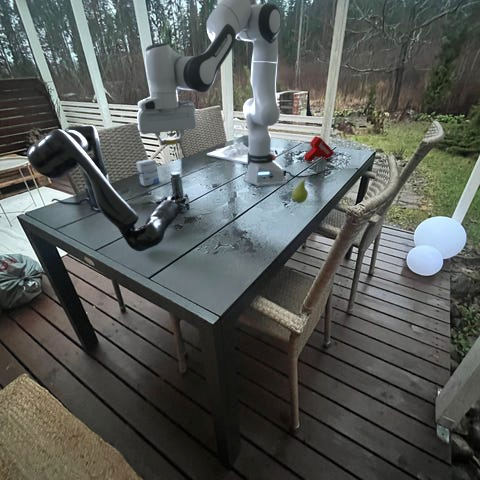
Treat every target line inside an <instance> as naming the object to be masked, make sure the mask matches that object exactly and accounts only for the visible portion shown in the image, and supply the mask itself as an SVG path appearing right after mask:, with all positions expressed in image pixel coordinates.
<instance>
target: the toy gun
mask: <svg viewBox="0 0 480 480" xmlns="http://www.w3.org/2000/svg"><path fill="white" fill-rule="evenodd" d="M309 145H310V147H311V148H310V149H309V151H308V152H306V153H305V154H304V155H303V158H304V159H303V160H304V161H305V162H307V161H312V162H313V161H314V160H315V159H316V158H319V159H320V158H323V157H325V158H323V159H324V160H326V161H330V160H329V159H326V158H328V157H331V158H332V157H333V156H334V154H335V152H334V151H333V150H332V148H330V146H329V145H328V144H327V143H326V141H324V139H322V137H320V136H316V135H315V136H314V137H313V139H311V141H310V143H309ZM312 162H308V163H309V164H312Z"/></svg>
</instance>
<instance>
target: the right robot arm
mask: <svg viewBox="0 0 480 480" xmlns="http://www.w3.org/2000/svg"><path fill="white" fill-rule="evenodd" d="M281 26H282V15H281V11H280V9H279V7H278V6H277V5H275V4H273V3H269V2H267V3H266V2H265V3H254V4H251V1H250V0H222V1H220V2H219V3H218V4H217V6H216V7H215V8H214V9H213V10H212V11H211V13H210V14H209V16H208V18H207V20H206V31H207V36H208V38H209V39H210V41H211V43H210V44H209V45H208V47H207V48H206V50H205V51H204V52H203V53H200V54H197V55H191V56H184V55H182V54H180V53H178V52H177V51H175V50H174V49H173V48H172V47H171V45H170V44H169V43H167V42H161V43H155V44H149V46H147V47H146V48H145V50H144V51H145V52H144V61H145V71H146V75H147V76H146V77H147V80H148V82H149V83H148V84H149V94H150V96H148V97H146V98H144V99H142V100H139V101H138V102H137V107H138V109H139V110H138V111H137V127H138V131H139V132H140V133H141V134H143V135H147V134H149V135H151V134H154V135H155V137H156V138H157V140H158V141H159V145H160V147H162V146H166V145H165V141H164V140H163V139H164V138H163V139H162V138H161V133H168V132H169V133H170V132H178V133H179V134H178V136H177V138H178V143H177V144H182V143H183V137H184V135H185V131H188V130H195V129H196V128H197V127H198V126H197V125H198V124H197V119H196V118H197V117H196V114H195V113H196V106H195V104H194V102H192V101H191V100H179V96H178V89H179V90H185V91H194V92H198V93H206V92H208V91H209V90H210V89H212V86H214V83H215V80H216V77H217V74H218V72H219V70H220V68H221V66H222V65H223V63H224V62H225V60H226V59H227V57H228V56H229V54H230V53H231V51H232V49H233V48H234V45H235V43H236V40H237V41H240V42H252V45H253V49H252V57H251V70H250V71H251V72H250V73H251V74H250V85H251V87H252V94H253V97H251V98H248V99H246V101H245V102H244V104H243V108H242V109H243V115H244V117H245V123H246V130H247V136H248V148H249V152H248V155H247V163H248V164H247V171H246V175H245V177H244V179H245V180H244V181H245V182H246V183H249V184H252V185H255V186H257V187H267V186H279V185H286V184H288V182H289V181H288V180H289V179H288V177H287V174H288V175H289V176H291V177H293V178H307V177H308V176H309V175H310V177H313V176H316V175H320V174H322V173H324V172H328V171H334V170H337V169H336V168H337V167H333V168H328V169H325V170H322V171H319V172H316V173H312V174H308V175H293V174H292V173H291V172H290V171H288V170H286V169H285V168H283V167H282V166H281V165H280V164H279V163H277V162H276V161H275V160H276V158H277V157H276V156H275V154H273V152H271V145H272V137H271V134H270V130H269V127H271V126H274V125H275V124H277V123H278V121H279V119H280V116H281V109H280V107H279V105H278V100H277V99H278V98H277V85H276V83H277V70H278V61H279V60H278V59H279V41H278V40H279V39H278V35H279V34H280V30H281ZM270 152H271V153H270ZM355 170H357V171H359V170H360V169H359V168H358V167H357V168H355Z"/></svg>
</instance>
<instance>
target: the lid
mask: <svg viewBox="0 0 480 480" xmlns="http://www.w3.org/2000/svg"><path fill="white" fill-rule="evenodd" d="M163 140H164V141H165V145H164V146H175V145H177V144H179V143H178V137H175V136H169V137H164V138H163Z"/></svg>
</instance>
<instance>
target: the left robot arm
mask: <svg viewBox="0 0 480 480" xmlns="http://www.w3.org/2000/svg"><path fill="white" fill-rule="evenodd" d="M100 143H101V142H100V138H99V133H98V132H97V129H96V127H95V126H94V125H92V124H86V125H72V126H71V125H70V126H68V127H66V128H65V129H64V130H62V129H59V128H54V129H52V130H51V131H49V132H48V133H46V134H45V135H44V136H42V137H41V138H40V139H39V140H37V141H35V142H34V143H33V144H32V145H31V146H29V148H28V149H27V152H26V158H27V160H28V162H29V163H28V164H29V165H30V166H31V168H32V169H33V170H35V172H36V173H38V174H39V175H41V176H43V177H45V178H47V179H51V180H59V179H62V178H64V177H66V176H67V175H68V174H69V173H71V172H72V171H74V170H75V169H76V168H77V167H79V169H80V173H81V175H82V177H83V181H84V184H85V187H84V192H85V194H86V197H85V198H83V199H80V200H79V201H78V202H77V201H76V202H73V201H71V202H70V201H63V200H61V199H58V198H52V199H51V200H50V202H54V201H56V202H59V203H61V204H67V205H79V204H81V203H82V202H84V201H86V203H87V204H88V205H89V206H90V209H91V210H94V211H95V212H101V214H102V215H103V216H104V218H106V219H107V220H108V221H109V222H110V223H112V225H114V226H115V227H116V228H117V229H118V231H119V232H120V234H121V236H122V237H123V240H125V242H126V244H127V245H128V246H129V247H130V248H131V249H132V250H134V251H136V252H144V251H146V250H149V249H151V248H154V247H155V246H158V245H159V244H161V242H162V241H163V240H164V237H165V233H166V230H167V229H168V228H169V226H171V224H173V222H174V221H175V220H176V218H177V217H178V216H179V215H180V214H179V211H180V210H182V209H183V208H185V209H186V211H189V210H191V202H190V198H189V195H188V193H184V196H183V197H182V198H179V199H177V200H174V198H173V193H172V194H171V195H169V196H163V197H161V198H159V199H158V200H156V201H155V205H156V208H155V209H154V210H153V212H152V213H151V214H150V216H148V217H147V219H146V221H145V223H144V225H143V226H140V227H138V228H137V227H136V226H135V225H136V224H137V223H138V222H139V215H138V212H136V210H134V209H133V208H132V207H131V206H130V204H129V203H128V202H126V201H125V199H123V197H121V195H120V194H119V193H118V191H116V190H115V188H114V186H112V185H111V181H110V178H109V174H108V170H107V165H106V162H105V159H104V156H103V152H102V148H101V144H100ZM88 152H92V154H91V155H88Z"/></svg>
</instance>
